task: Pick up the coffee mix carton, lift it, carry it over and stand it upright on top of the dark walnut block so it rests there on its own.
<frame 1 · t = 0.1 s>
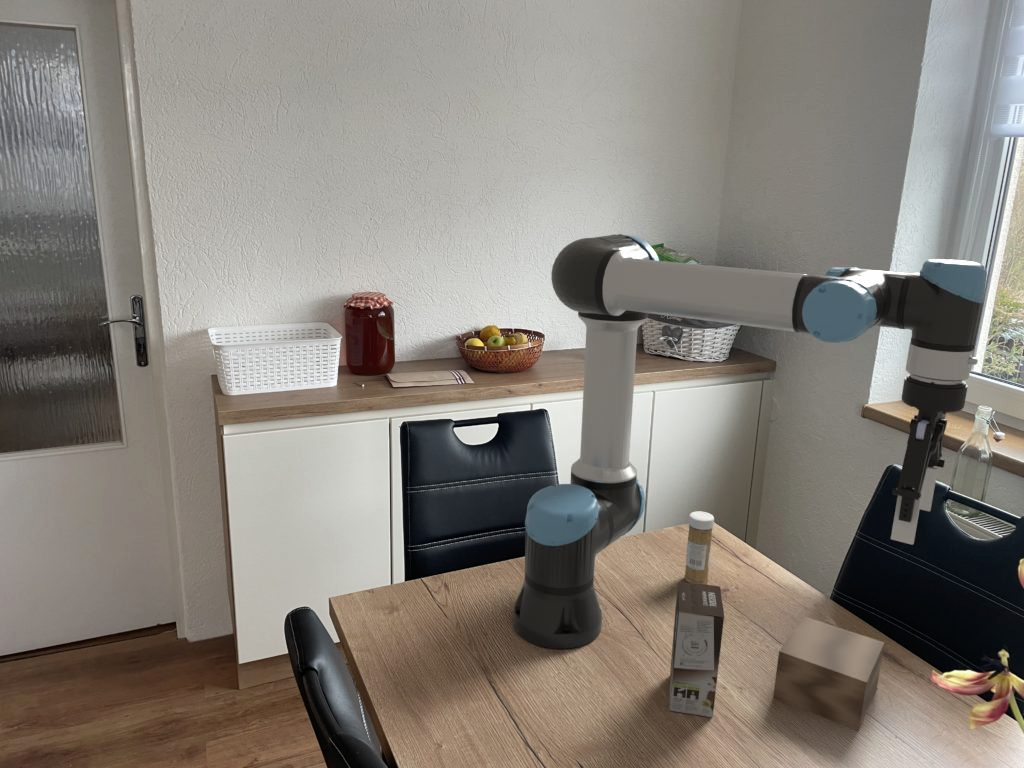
hand: (911, 524, 110), 28 cm above the table, fingers open, 13 cm apart
sprinkles bottle: (695, 581, 150), on the table
coffee box: (690, 696, 117), on the table
walnut block: (825, 693, 118), on the table
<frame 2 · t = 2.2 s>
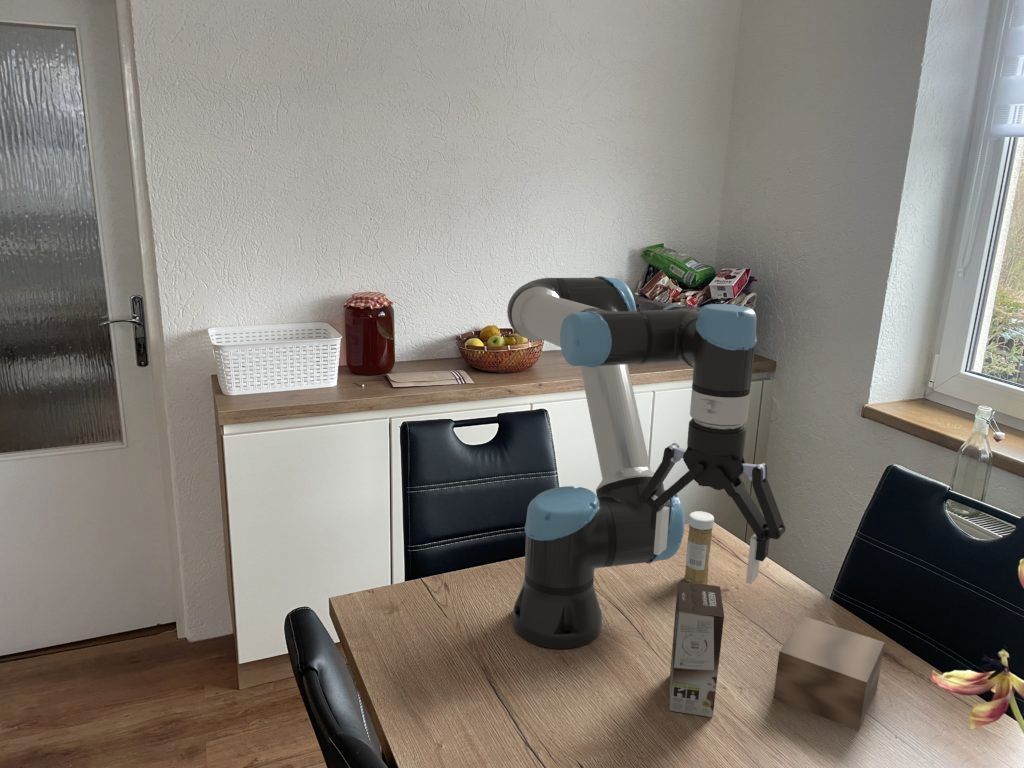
hand: (704, 565, 111), 21 cm above the table, fingers open, 13 cm apart
nothing on the table moved.
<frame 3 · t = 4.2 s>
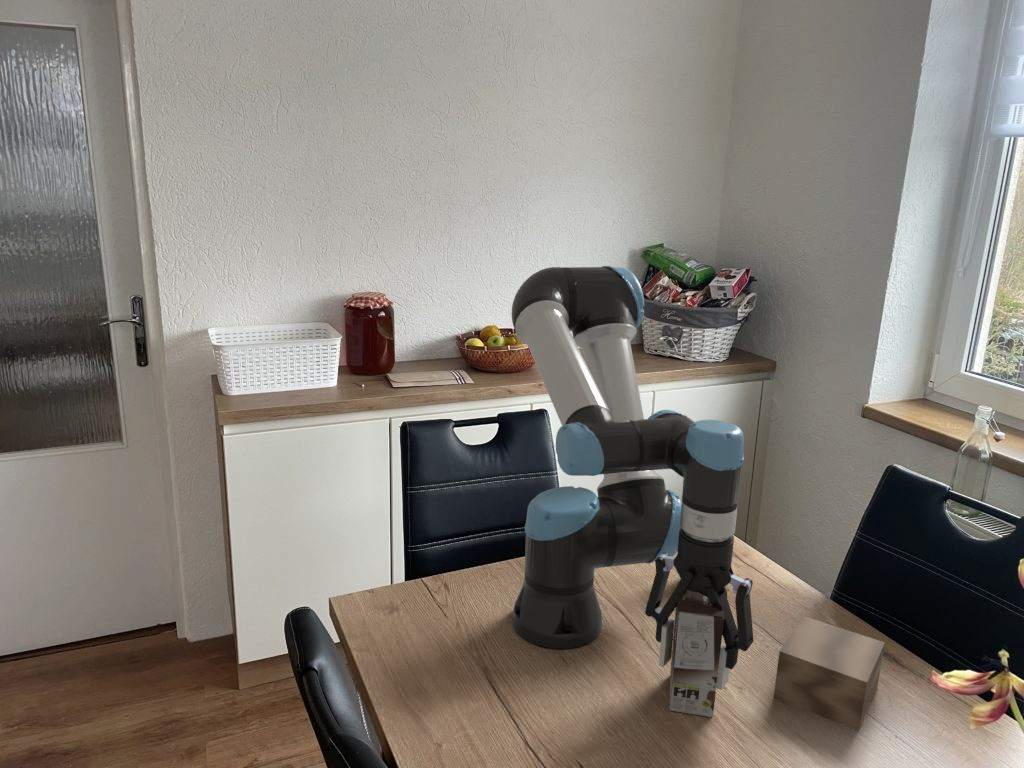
hand: (693, 672, 116), 4 cm above the table, fingers closed on coffee box, 8 cm apart
coffee box: (690, 696, 117), on the table, touching gripper
everything else where it was.
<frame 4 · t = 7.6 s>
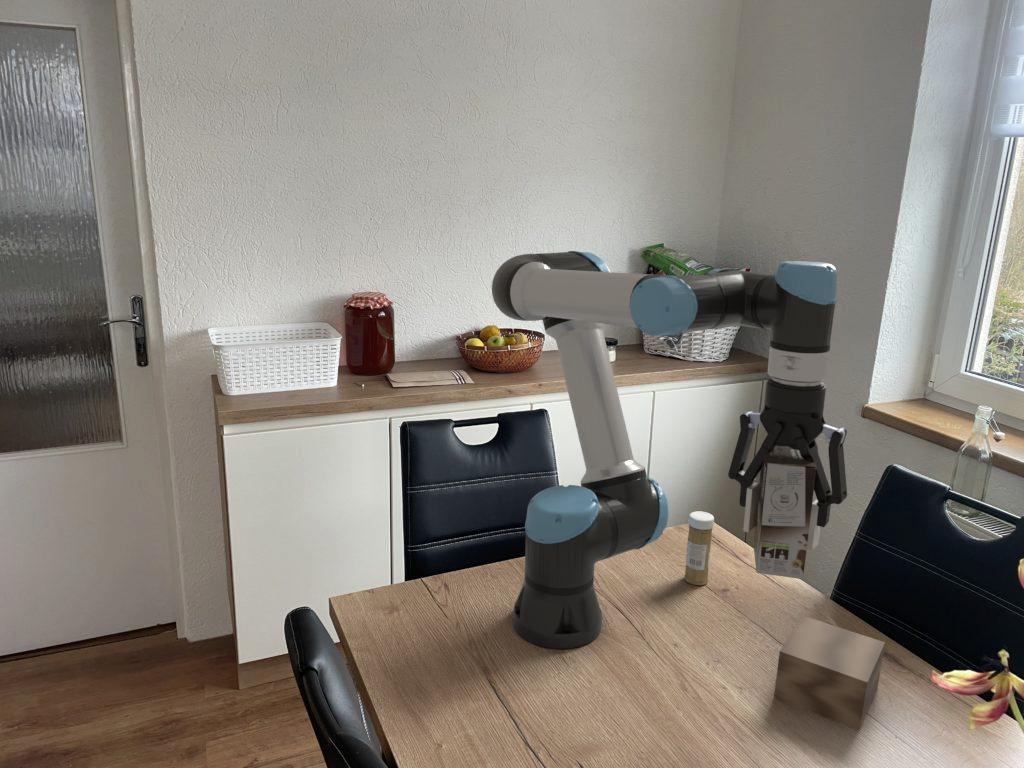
hand: (780, 537, 110), 26 cm above the table, fingers closed on coffee box, 8 cm apart
coffee box: (777, 563, 111), point 22 cm above the table, touching gripper
everything else where it was.
when the fingers open (14 cm above the table, at t = 10.9 s): coffee box drops 2 cm, point 8 cm above the table.
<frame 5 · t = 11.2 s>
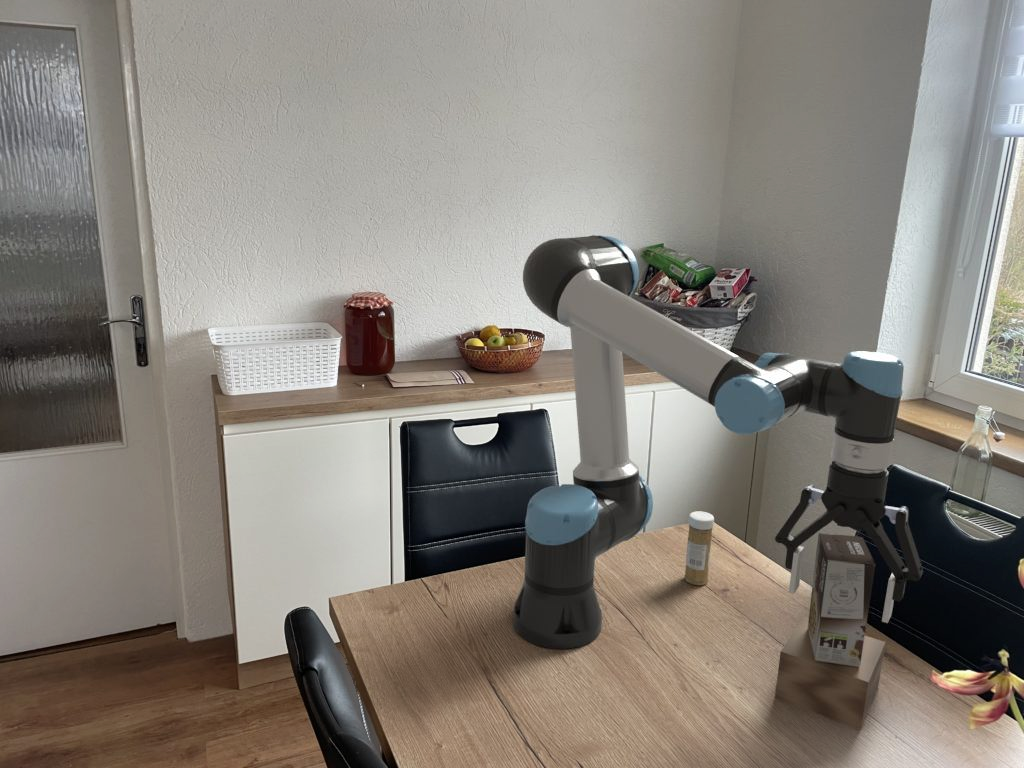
hand: (838, 603, 114), 15 cm above the table, fingers open, 12 cm apart
coffee box: (832, 648, 116), point 8 cm above the table
everything else where it was.
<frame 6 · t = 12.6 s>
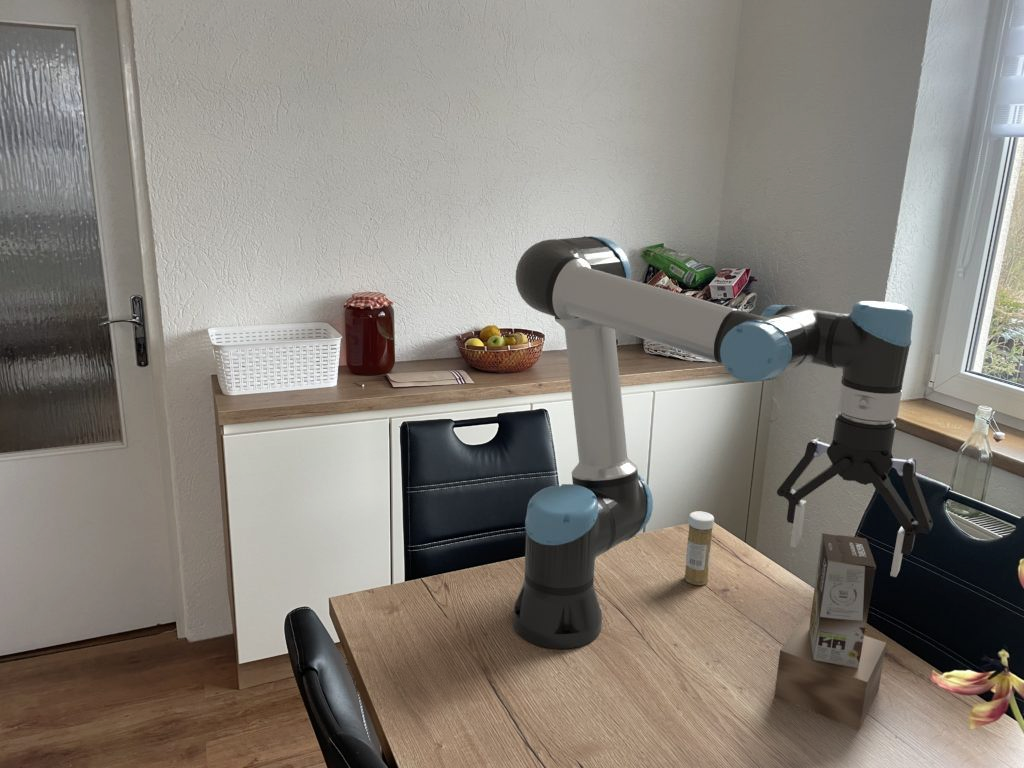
hand: (843, 558, 112), 22 cm above the table, fingers open, 13 cm apart
nothing on the table moved.
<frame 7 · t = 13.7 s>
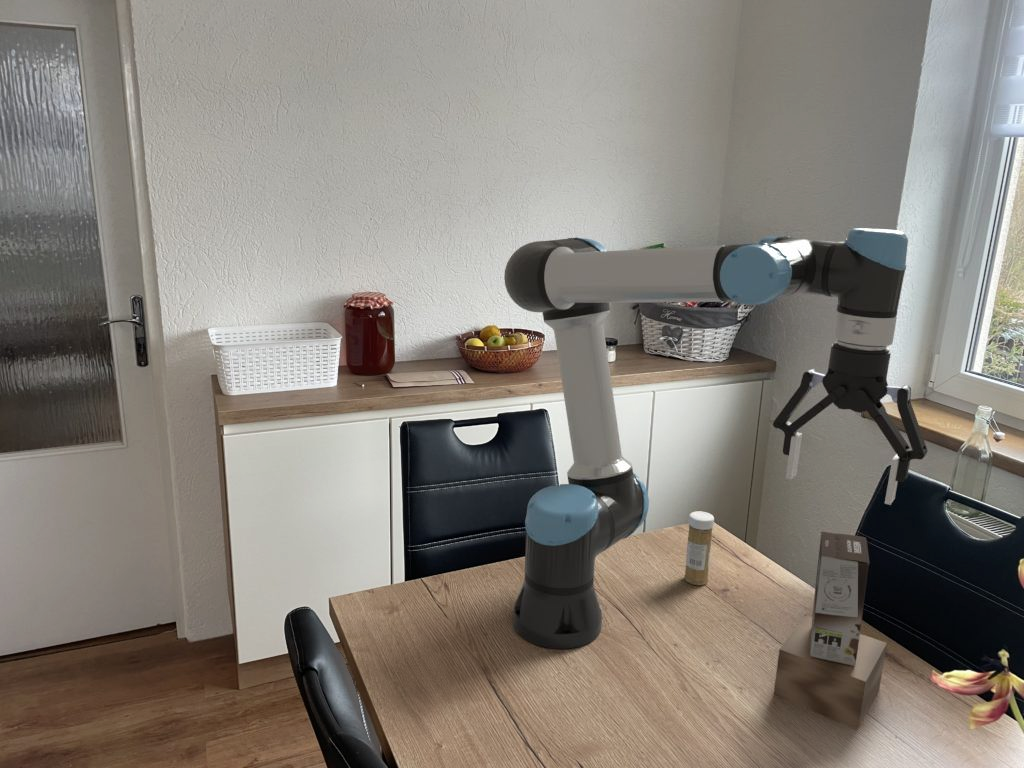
hand: (838, 488, 113), 31 cm above the table, fingers open, 13 cm apart
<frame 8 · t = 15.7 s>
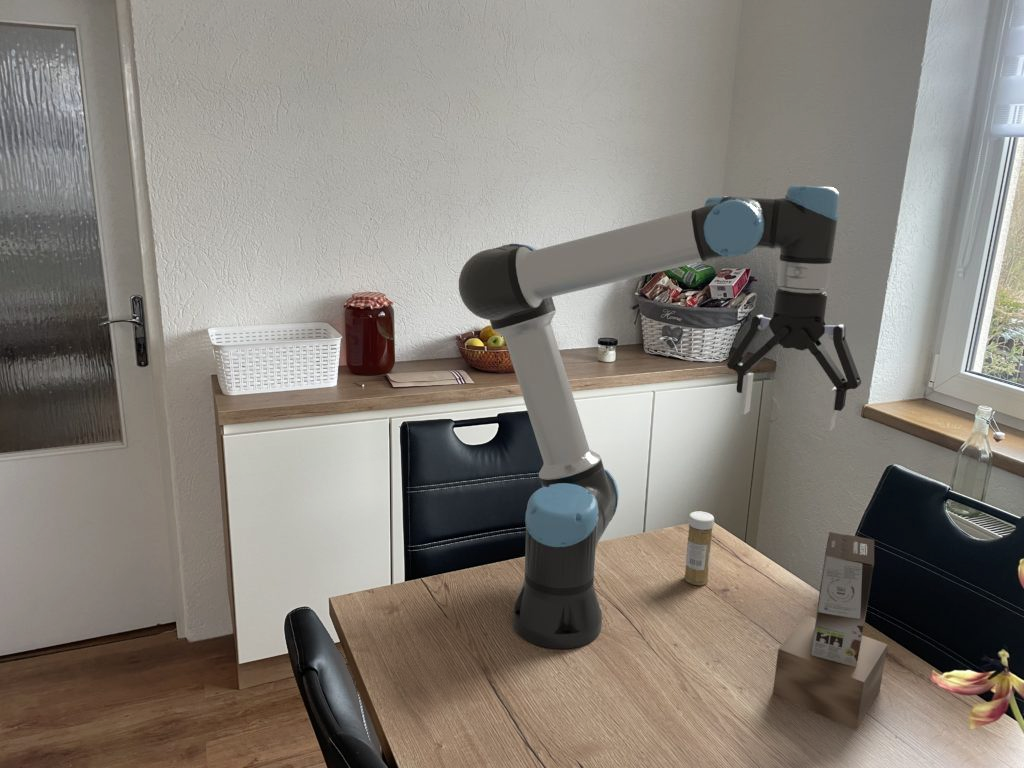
hand: (785, 420, 127), 37 cm above the table, fingers open, 13 cm apart
coffee box: (835, 647, 116), point 8 cm above the table, touching walnut block
walnut block: (826, 693, 118), on the table, touching coffee box
everything else where it was.
at the end: coffee box inside the target area on the walnut block (0.4 cm from its centre), point 7.8 cm above the walnut block's base; coffee box tilted 0°; the gripper is holding nothing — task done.
